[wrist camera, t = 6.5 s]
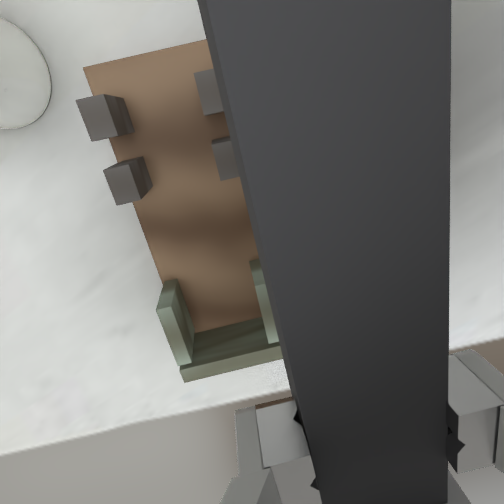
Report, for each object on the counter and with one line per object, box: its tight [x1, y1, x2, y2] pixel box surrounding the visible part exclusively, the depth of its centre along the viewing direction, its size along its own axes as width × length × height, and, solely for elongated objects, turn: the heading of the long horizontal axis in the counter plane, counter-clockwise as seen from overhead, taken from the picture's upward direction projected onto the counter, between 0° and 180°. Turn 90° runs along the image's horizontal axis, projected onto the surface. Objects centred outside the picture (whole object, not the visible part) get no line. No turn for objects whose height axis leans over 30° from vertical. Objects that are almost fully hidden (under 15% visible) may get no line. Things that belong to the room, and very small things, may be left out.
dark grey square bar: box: [197, 0, 471, 504], centre depth 7 cm, size 16×4×4 cm, turn 13°
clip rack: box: [76, 39, 283, 383], centre depth 22 cm, size 21×8×5 cm, turn 12°
